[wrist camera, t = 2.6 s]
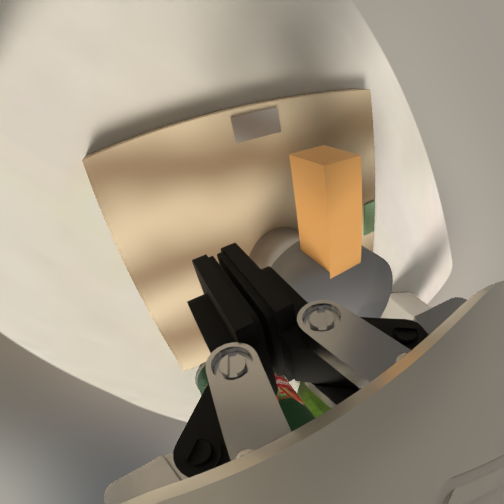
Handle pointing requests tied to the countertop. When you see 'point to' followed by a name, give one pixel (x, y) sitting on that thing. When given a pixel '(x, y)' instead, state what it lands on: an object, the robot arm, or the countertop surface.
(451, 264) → the countertop surface
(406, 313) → the medicine bottle
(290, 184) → the plate
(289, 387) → the canned tomato
